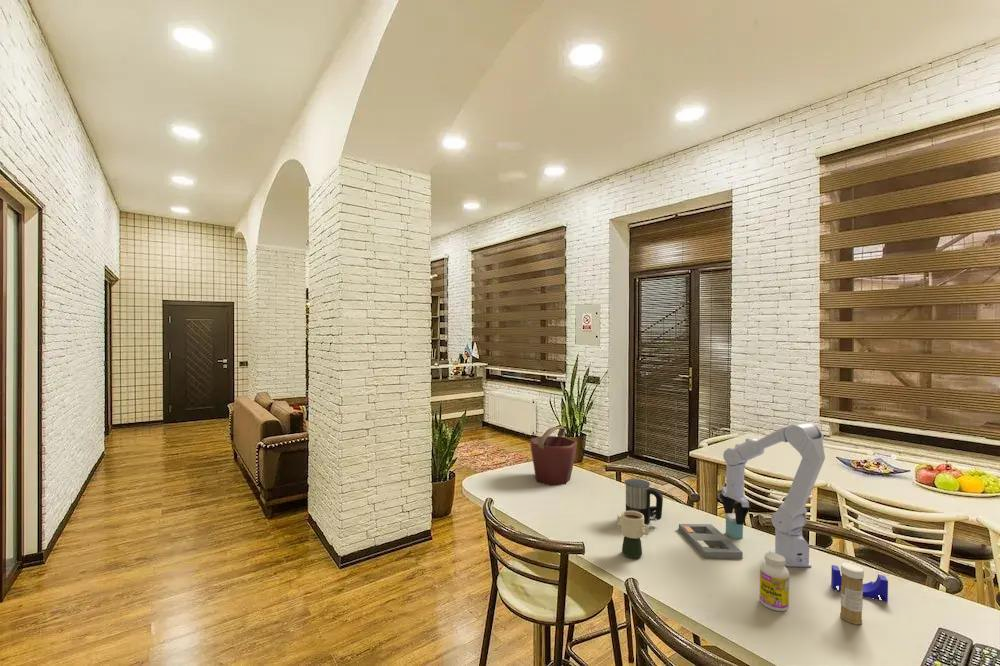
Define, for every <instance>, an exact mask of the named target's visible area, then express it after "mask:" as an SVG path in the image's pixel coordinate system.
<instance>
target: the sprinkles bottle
mask: <svg viewBox="0 0 1000 666" xmlns="http://www.w3.org/2000/svg"><path fill="white" fill-rule="evenodd" d="M864 571H865V570H864V569H863V568H862V567H861V566H859V565H857V564H854V563H848V562H842V563H841V564H840V574H841V576H842V585H841V592H840V615H839V616H840V618H841V619H843V620H844V621H845V622H848V623H849V624H852V623H853V625H861V624H863V619H862V618H863V616H862V615H863V614H862V613H863V605H864V604H863V601H864V600H863V598H864V597H863V584H864V582H863V581H864V578H865V572H864Z"/></svg>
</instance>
